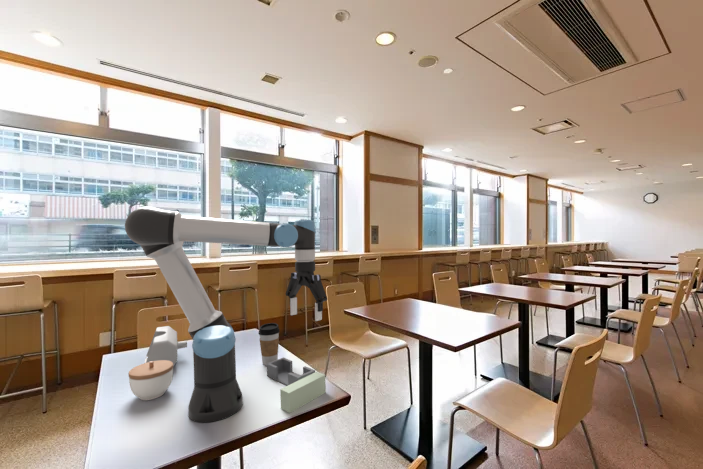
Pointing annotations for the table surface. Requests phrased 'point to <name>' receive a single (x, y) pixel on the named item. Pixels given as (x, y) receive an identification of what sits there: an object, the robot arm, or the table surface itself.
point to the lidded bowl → (151, 379)
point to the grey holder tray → (285, 371)
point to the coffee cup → (269, 342)
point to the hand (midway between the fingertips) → (305, 317)
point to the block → (302, 391)
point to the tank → (164, 345)
